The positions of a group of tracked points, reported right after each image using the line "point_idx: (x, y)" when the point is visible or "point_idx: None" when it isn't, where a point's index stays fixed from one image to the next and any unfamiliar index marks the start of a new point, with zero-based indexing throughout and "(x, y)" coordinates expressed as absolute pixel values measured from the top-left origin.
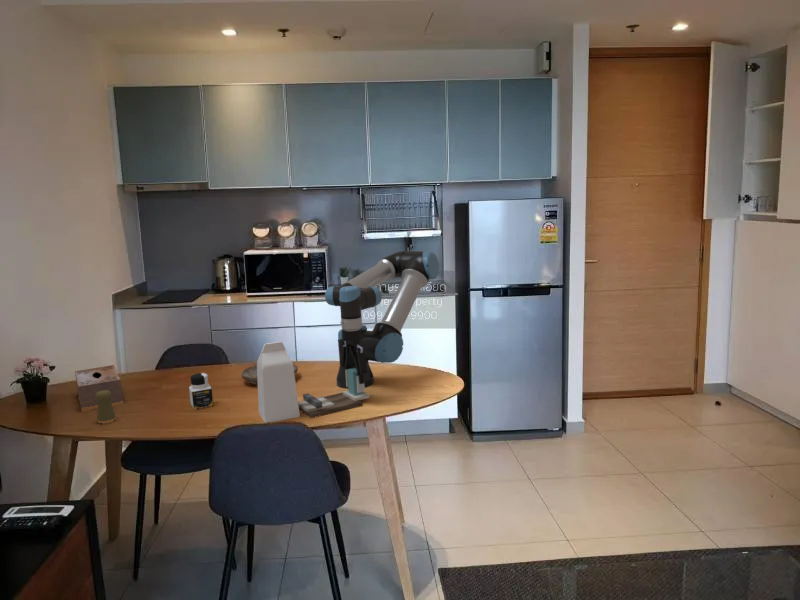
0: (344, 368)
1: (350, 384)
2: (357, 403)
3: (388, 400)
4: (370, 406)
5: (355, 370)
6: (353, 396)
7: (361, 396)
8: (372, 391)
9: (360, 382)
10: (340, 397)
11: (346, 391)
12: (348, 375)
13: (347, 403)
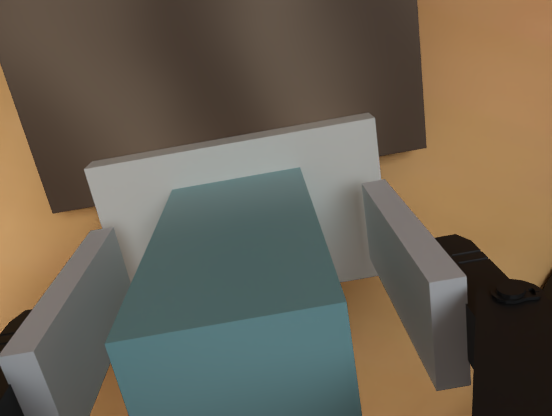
0: (519, 282)
1: (246, 214)
2: (38, 165)
3: (111, 409)
4: (19, 256)
5: (200, 405)
6: (154, 174)
7: (119, 244)
8: (385, 372)
9: (15, 323)
10: (280, 60)
11: (354, 157)
12: (300, 256)
13: (49, 69)
